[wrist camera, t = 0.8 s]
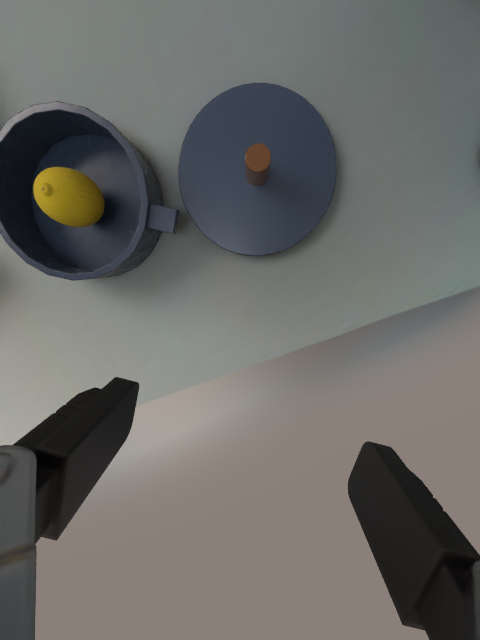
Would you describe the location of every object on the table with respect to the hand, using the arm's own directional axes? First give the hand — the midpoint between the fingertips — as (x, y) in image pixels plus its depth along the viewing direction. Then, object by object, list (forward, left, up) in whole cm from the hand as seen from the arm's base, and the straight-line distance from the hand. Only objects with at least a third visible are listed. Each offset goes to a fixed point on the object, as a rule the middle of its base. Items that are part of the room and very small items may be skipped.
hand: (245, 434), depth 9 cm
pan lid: (-15, -2, -25) cm, 29 cm away
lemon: (-8, -20, -25) cm, 33 cm away
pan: (-8, -20, -25) cm, 33 cm away
